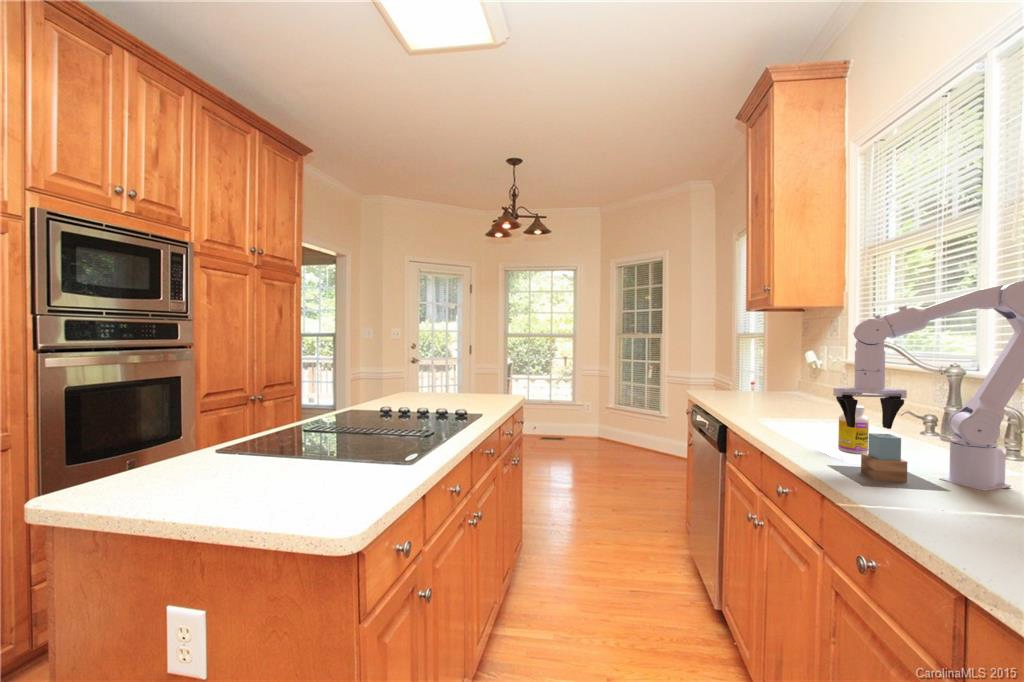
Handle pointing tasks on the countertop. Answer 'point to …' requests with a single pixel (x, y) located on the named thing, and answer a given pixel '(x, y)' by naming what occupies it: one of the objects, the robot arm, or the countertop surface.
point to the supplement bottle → (854, 434)
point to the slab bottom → (884, 474)
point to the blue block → (884, 447)
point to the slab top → (883, 464)
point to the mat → (865, 480)
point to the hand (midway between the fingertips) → (868, 427)
